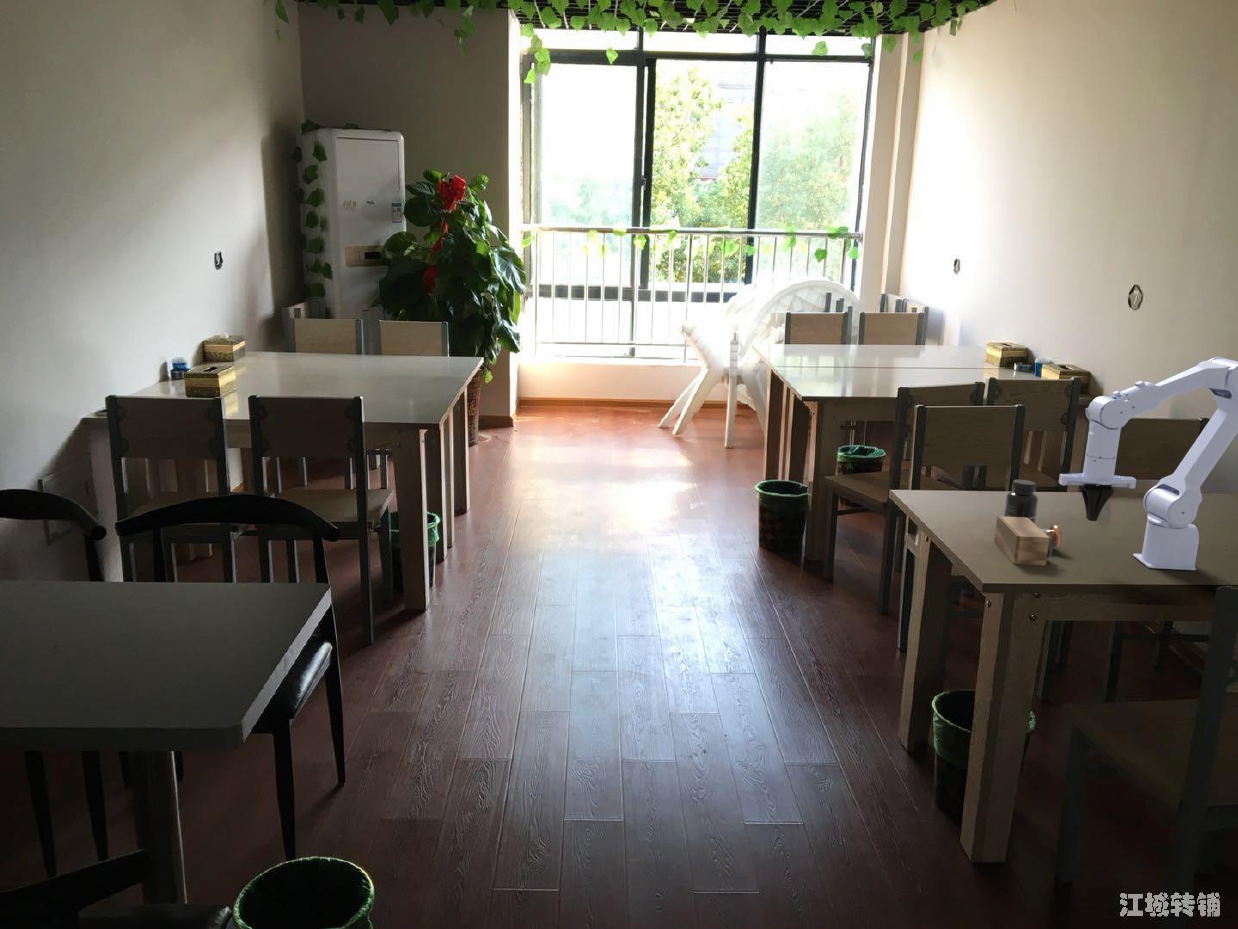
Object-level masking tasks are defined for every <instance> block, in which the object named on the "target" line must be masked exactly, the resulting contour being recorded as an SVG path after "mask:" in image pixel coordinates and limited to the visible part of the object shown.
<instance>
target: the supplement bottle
mask: <svg viewBox="0 0 1238 929" xmlns="http://www.w3.org/2000/svg"><path fill="white" fill-rule="evenodd" d="M1036 485H1037V484H1036V482H1034V481H1031V480H1027V479H1014V480H1012V486H1011V490H1012V491H1011V490H1010V491H1009V492H1008V493H1007V494H1006V497H1005V503H1004V510H1003V516H1004V517H1026V518H1029V519H1030V520H1031V521H1032V522H1033V523H1034V524H1035V525H1036V519H1037V512H1038V506H1039V497H1038V496H1037V494H1035V492H1036V487H1037V486H1036Z"/></svg>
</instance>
